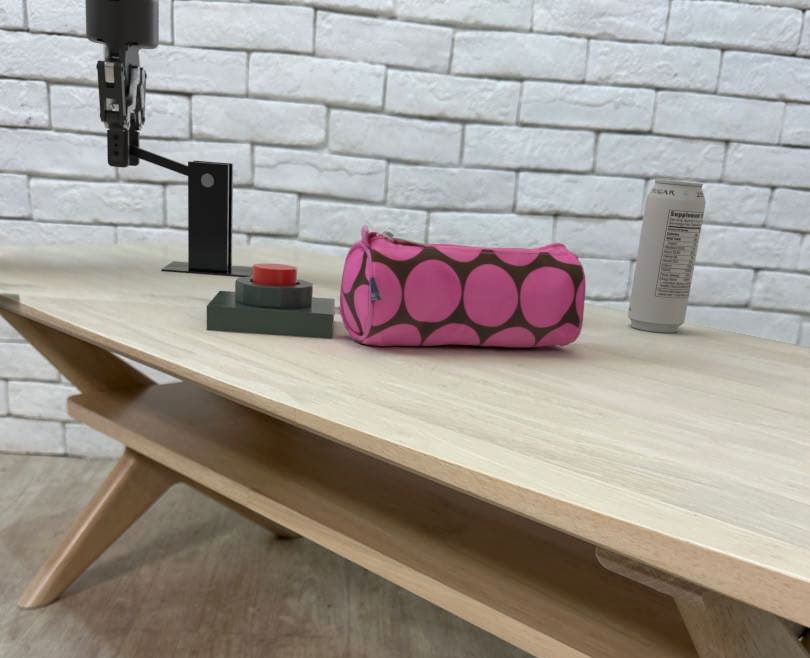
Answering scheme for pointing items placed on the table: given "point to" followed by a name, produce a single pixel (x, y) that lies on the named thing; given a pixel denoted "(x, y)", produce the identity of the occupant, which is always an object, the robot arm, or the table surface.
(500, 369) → the table surface
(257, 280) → the button
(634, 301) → the energy drink can
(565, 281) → the pencil case
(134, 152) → the switch lever
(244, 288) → the control box
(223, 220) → the switch bracket
